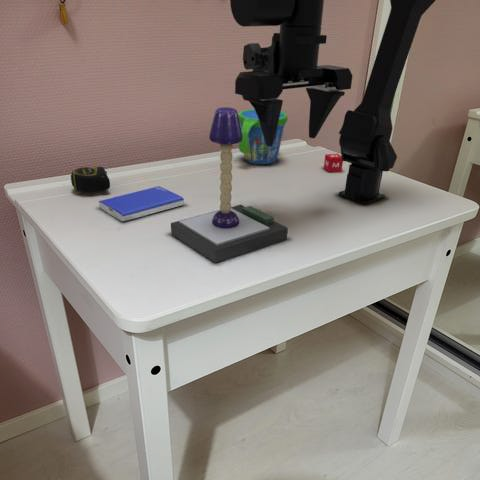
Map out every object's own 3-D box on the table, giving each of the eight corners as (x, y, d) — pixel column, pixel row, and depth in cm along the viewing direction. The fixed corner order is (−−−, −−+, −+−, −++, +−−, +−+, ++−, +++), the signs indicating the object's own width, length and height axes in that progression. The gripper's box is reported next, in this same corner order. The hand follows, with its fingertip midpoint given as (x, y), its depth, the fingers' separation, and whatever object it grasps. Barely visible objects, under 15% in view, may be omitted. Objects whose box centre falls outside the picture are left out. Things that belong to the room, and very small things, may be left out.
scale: (240, 215, 85) (240, 199, 83) (287, 239, 77) (288, 222, 76) (171, 234, 78) (170, 218, 76) (215, 263, 70) (215, 245, 68)
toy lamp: (245, 227, 75) (248, 111, 65) (216, 232, 73) (216, 113, 64) (232, 216, 78) (234, 104, 69) (205, 220, 77) (203, 106, 67)
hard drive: (158, 185, 92) (98, 199, 85) (183, 197, 87) (122, 213, 80) (158, 193, 93) (99, 208, 86) (184, 205, 88) (123, 222, 81)
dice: (328, 172, 106) (330, 158, 105) (323, 168, 109) (325, 154, 107) (341, 171, 107) (343, 157, 105) (336, 167, 110) (337, 153, 108)
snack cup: (258, 173, 105) (260, 123, 99) (221, 163, 110) (221, 115, 104) (298, 158, 115) (302, 112, 109) (262, 149, 120) (264, 105, 114)
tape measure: (111, 195, 92) (109, 175, 90) (73, 198, 90) (70, 177, 88) (108, 183, 97) (105, 164, 95) (72, 185, 95) (69, 166, 93)
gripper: (307, 21, 78) (298, 124, 87) (211, 22, 68) (212, 139, 77) (362, 26, 71) (346, 138, 79) (263, 28, 61) (258, 155, 70)
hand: (291, 141), depth 76 cm, fingers open, 9 cm apart
